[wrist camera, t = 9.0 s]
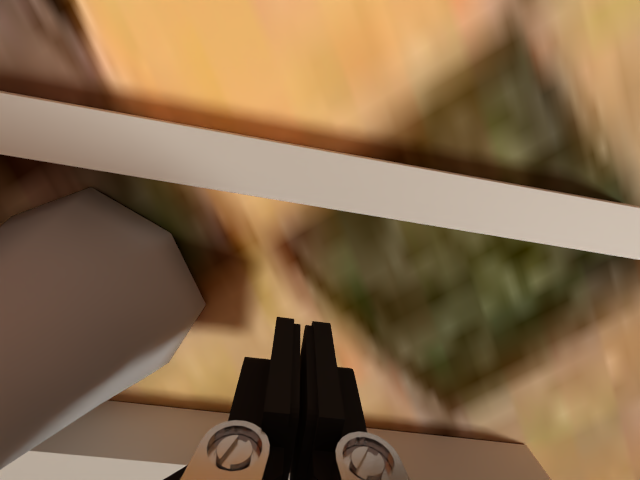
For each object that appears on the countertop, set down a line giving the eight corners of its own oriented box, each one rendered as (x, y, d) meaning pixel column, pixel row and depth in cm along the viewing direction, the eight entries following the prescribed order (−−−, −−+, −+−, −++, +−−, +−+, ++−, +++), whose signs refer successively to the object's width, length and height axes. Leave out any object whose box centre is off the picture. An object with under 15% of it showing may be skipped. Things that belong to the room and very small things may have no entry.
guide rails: (624, 203, 13) (698, 218, 11) (515, 471, 16) (552, 529, 14) (-99, 72, 11) (-216, 53, 8) (-56, 414, 14) (-130, 472, 12)
